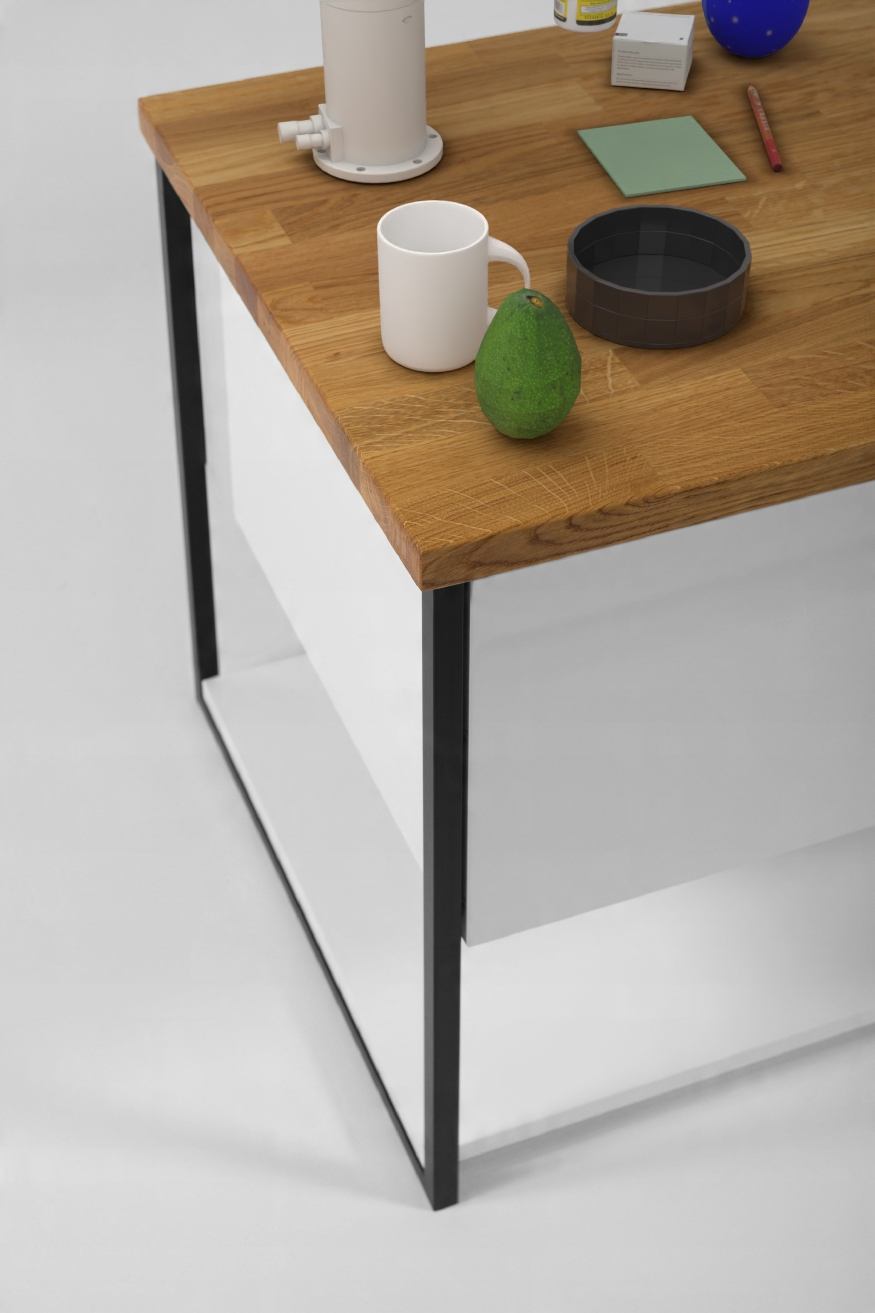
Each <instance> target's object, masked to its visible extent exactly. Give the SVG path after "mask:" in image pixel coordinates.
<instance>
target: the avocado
mask: <svg viewBox="0 0 875 1313" xmlns="http://www.w3.org/2000/svg"><path fill="white" fill-rule="evenodd" d="M497 309H498V310H497V312H496V314H495V316H494V318H493V320H492V322H491V323H490V325H489V327H488V329H487V331H486V333H485V335H484V337H483V340H482V342H481V345H480V348H479V350H478V353H477V355H476V358H475V360H474V372H473V373H474V375H473V383H474V384H473V385H474V391H475V394H476V397H477V401H478V404H479V407H480V410H481V412H482V413H483V415H484V416H485V417H486V418H487V420H488V422H489V423H490V424H491V425H492V427H493V428H494V429H495V430H496V431H497V432H499V433H500V434H501V435H504V436H507V437H509V438H511V439H532V440H533V439H536V438H539V437H541V436H544V435H546V434H549V433H550V432H551V431H553V430H554V429H555V428H557V427H558V426H559V425H561V424H562V423H563V422H564V421H565V420H566V418H567V416H568V415H569V413H570V412H571V410H573V408H574V406H575V403H576V402H577V399H578V397H579V395H580V392H581V385H582V360H583V358H582V357H581V356H582V355H581V353H580V350H579V347H578V345H577V342H576V339H575V336H574V334H573V330H572V329H571V328H570V326H569V324H568V322H567V320H566V318H565V317H564V314H563V312H561V310H560V308H559V307H558V305H557V304H555V302H553V301H552V300H551V299H550V297H548V296H546V295H545V294H543V293H542V292H541V291H539V290H536V289H531V288H530V289H527V288H525V287H523V288H521V289H518V290H515V291H513V292H510V293H509V294H508V295H507V296H506V298H505V299H504V300H503V301H502V303H501V304H500V305H499V307H498V308H497Z"/></svg>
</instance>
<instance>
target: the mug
mask: <svg viewBox="0 0 875 1313" xmlns="http://www.w3.org/2000/svg"><path fill="white" fill-rule="evenodd" d="M489 227H490V226H489V223H488V220H487V219H486V217H485V216H484V215H483V214H482V213H481V212H480V211H478V210H477V209H475V208H473V207H471V206H469V205H465V204H464V203H460V202H455V201H449V200H438V199H437V200H435V199H434V200H433V199H432V200H429V199H428V200H420V201H412V202H409V203H404V204H401V205H399V206H396V207H395V208H392V209H390V210H388V211H387V212H386V213H384V214H383V215H382V216H381V218H380V219H379V221H378V223H377V226H376V240H377V264H378V265H377V266H378V268H377V269H378V292H379V294H378V295H379V315H380V316H379V317H380V318H379V319H380V335H381V336H380V337H381V341H382V346H383V349H384V351H385V353H386V354H387V355H388V356H389V358H390V359H391V360H393V361H394V362H395V363H397V364H398V365H400V366H402V367H405V368H407V369H410V370H413V371H418V372H423V373H424V372H425V373H444V372H450V371H455V370H458V369H461V368H464V367H465V366H468V365H469V364H471V363H473V362H475V358H476V355H477V353H478V350H479V348H480V345H481V342H482V340H483V337H484V335H485V333H486V331H487V329H488V327H489V325H490V323H491V322H492V320H493V318H494V316H495V314H496V312H497V310H498V309H499V308H495V307H494V308H493V307H490V306H489V304H488V303H489V263H491V262H500V263H506V264H509V265H511V266H513V267H515V268H517V270H518V271H519V272H520V273H521V275H522V276H523V281H524V288H527V289H531V274H530V269H529V267H528V263H527V262H526V260H525V259H524V257H523V256H522V254H521V253H520V252H518V250H516V249H515V248H514V247H512V246H511V245H509V244H507V243H506V242H504V241H501V240H500V239H497V238H495V237H493V236H491V235H489V234H490V233H489V230H490V229H489Z"/></svg>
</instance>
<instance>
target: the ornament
mask: <svg viewBox="0 0 875 1313" xmlns="http://www.w3.org/2000/svg"><path fill="white" fill-rule="evenodd" d="M810 1H811V0H701V8H702V12H703V16H704V20H705V23H706V26H707V28H708V31H709V32H710V35H711V36H712V37H713V38H714V40H715V42H717V43H718V44H719V45H720V46H721V47H722V48H723V49H724V50H726V51H728V52H729V53H731V54H732V55H735V56H739V57H741V58H757V59H758V58H765V57H767V56H770V55H773V54H775V53H778V52H779V51H781V50H782V49H783V48H784V47H786V46H787V45H788V44H789V43H790V42H791V41H792V40H793V39H794V37H796V35H797V33H798V32H799V31H800V29H801V27H802V25H803V23H804V21H805V18H806V16H807V13H808V9H809V7H810Z"/></svg>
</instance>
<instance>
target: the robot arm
mask: <svg viewBox="0 0 875 1313" xmlns="http://www.w3.org/2000/svg"><path fill="white" fill-rule="evenodd" d="M425 10H426V9H425V0H319V11H320V12H319V13H320V14H319V15H320V30H321V49H322V64H323V81H324V82H323V83H324V97H325V98H324V99H325V103H319V104H318V114H313V115H309V118H308V119H305V120H289V121H280V122H277V135H278V139H279V142H280V144H290V143H295V146H296V150H297V151H305V150H312V159H313V162H314V163H315V164H316V165H317V167H319V169H321V170H322V171H323V172H325V173H327V174H328V175H330V176H332V177H335V178H337V179H339V180H340V179H341V180H344V181H349V182H354V183H363V184H387V183H395V182H401V181H405V180H410V179H413V178H415V177H416V178H417V177H418V176H421V175H423V174H425V173H427V172H429V171H431V170H432V169H433V168H434V167H436V166H437V165H438V164H439V162H440V161H441V160H442V157H443V154H444V142H443V139H442V136H441V135H440V134H439V132H438V131H436V129H434V128H433V127H432V126H430V125H428V124H427V79H426V78H427V75H426V74H427V73H426V23H425V22H426V20H425V17H426V14H425Z"/></svg>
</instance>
